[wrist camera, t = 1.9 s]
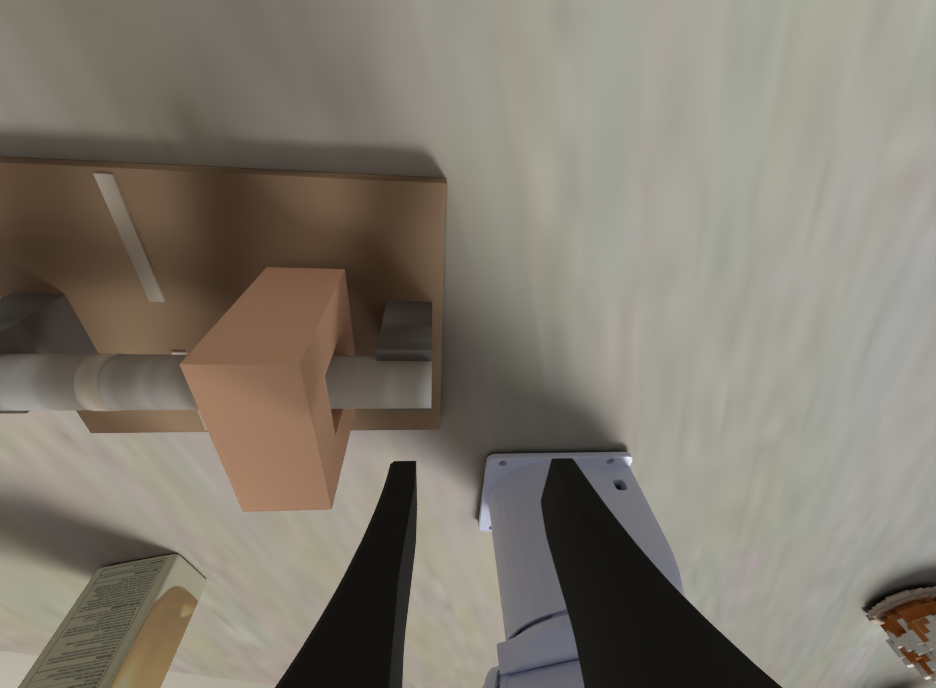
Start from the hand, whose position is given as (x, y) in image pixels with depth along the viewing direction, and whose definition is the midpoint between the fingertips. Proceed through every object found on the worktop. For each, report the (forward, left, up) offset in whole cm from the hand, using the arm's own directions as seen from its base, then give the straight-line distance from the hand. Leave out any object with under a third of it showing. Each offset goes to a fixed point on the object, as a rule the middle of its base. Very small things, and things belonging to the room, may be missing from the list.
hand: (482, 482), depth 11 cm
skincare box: (+22, +23, -10) cm, 33 cm away
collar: (+6, 0, -8) cm, 10 cm away
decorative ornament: (-50, +35, -10) cm, 62 cm away
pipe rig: (+10, 0, -9) cm, 14 cm away
